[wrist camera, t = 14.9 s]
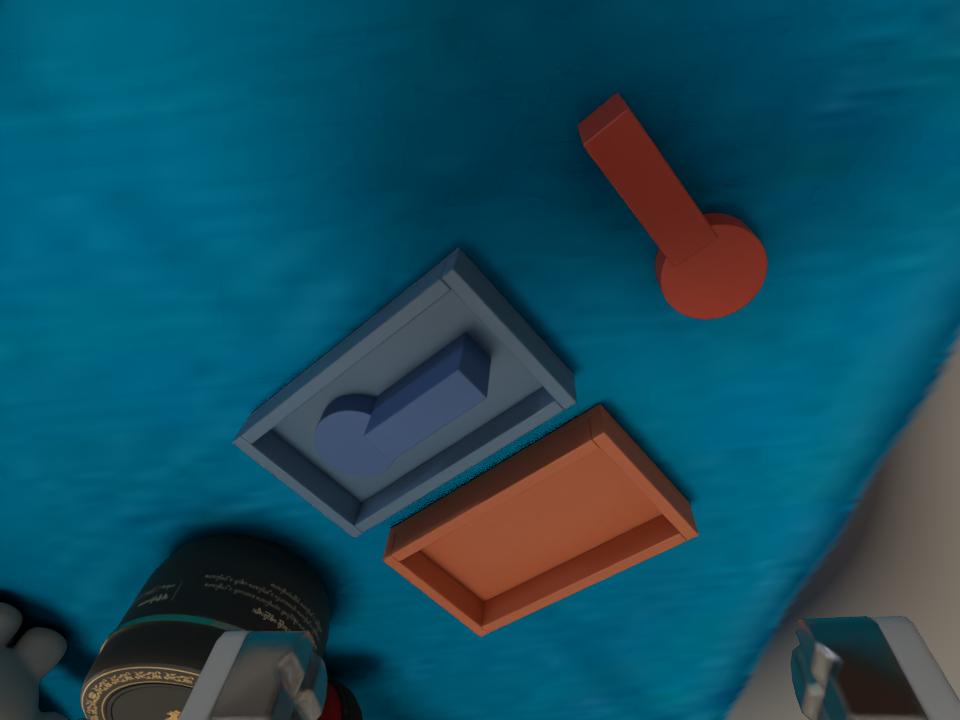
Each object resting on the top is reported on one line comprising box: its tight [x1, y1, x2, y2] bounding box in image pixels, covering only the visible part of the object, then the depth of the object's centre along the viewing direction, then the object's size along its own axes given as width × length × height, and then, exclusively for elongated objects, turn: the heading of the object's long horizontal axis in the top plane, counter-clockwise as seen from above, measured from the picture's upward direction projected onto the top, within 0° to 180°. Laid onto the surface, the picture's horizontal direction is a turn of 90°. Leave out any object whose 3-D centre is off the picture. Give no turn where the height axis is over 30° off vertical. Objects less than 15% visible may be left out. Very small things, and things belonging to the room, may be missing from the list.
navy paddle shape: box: [314, 332, 491, 477], centre depth 25 cm, size 9×4×3 cm, turn 131°
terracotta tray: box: [383, 404, 699, 636], centre depth 29 cm, size 13×7×2 cm, turn 131°
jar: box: [80, 535, 329, 720], centre depth 31 cm, size 10×10×8 cm
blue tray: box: [232, 248, 577, 538], centre depth 26 cm, size 13×7×2 cm, turn 131°
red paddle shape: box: [578, 93, 767, 319], centre depth 21 cm, size 9×4×3 cm, turn 41°
